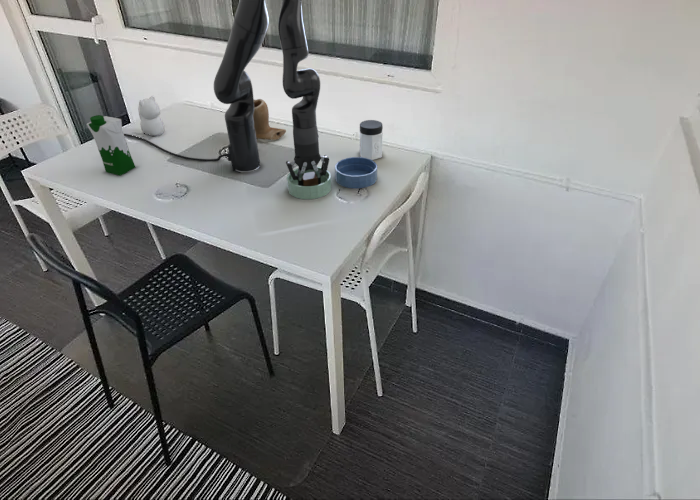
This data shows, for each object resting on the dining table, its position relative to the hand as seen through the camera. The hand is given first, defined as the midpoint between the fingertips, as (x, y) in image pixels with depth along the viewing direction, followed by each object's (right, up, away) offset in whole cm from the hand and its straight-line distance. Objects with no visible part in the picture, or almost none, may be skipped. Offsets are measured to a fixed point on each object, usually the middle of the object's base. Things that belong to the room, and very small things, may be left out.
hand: (309, 187), depth 147 cm
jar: (+21, +15, +21) cm, 33 cm away
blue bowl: (+15, +4, +5) cm, 17 cm away
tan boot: (-22, +25, +35) cm, 48 cm away
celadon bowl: (0, -1, 0) cm, 1 cm away
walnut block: (0, 0, 0) cm, 0 cm away
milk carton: (-69, +8, +14) cm, 70 cm away
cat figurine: (-69, +28, +40) cm, 84 cm away
